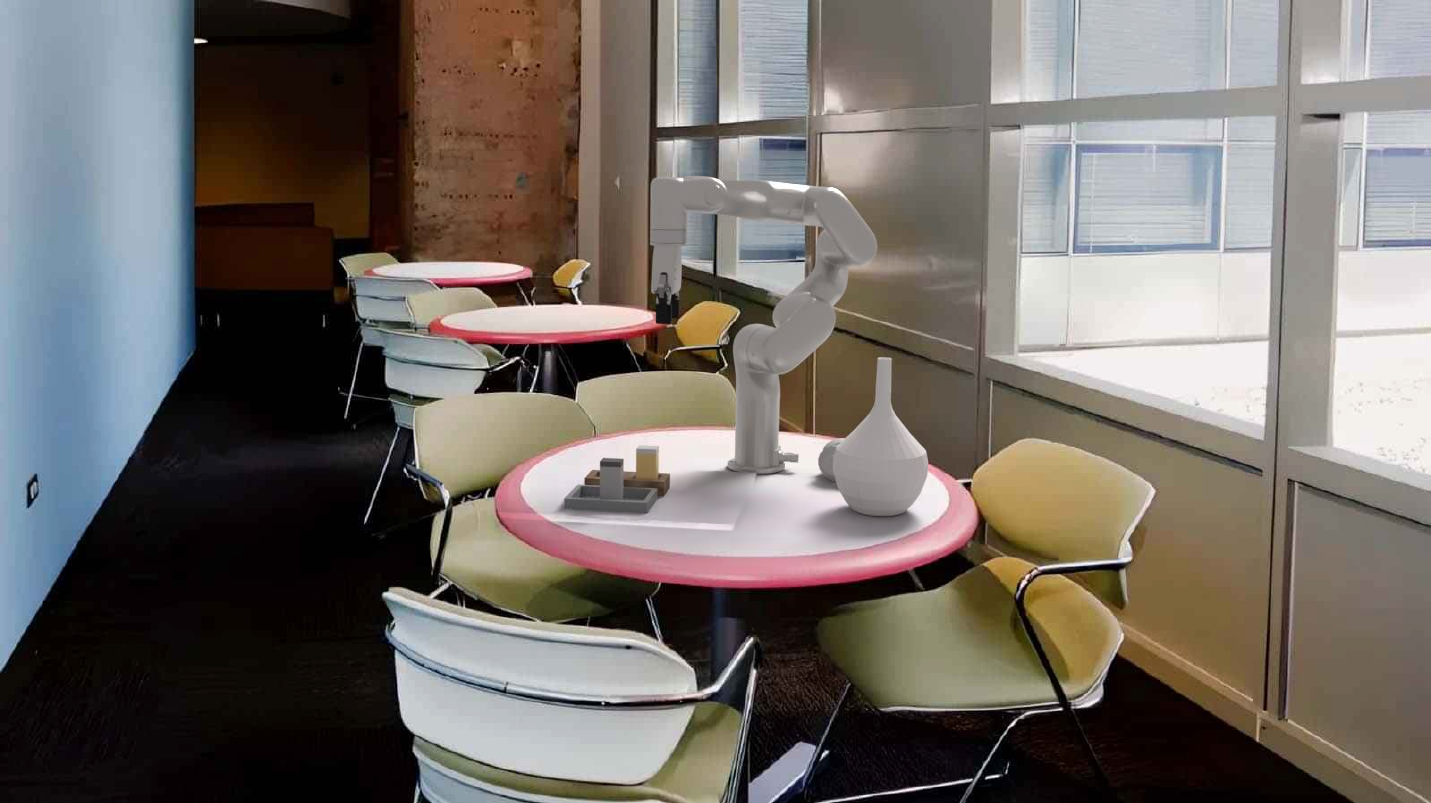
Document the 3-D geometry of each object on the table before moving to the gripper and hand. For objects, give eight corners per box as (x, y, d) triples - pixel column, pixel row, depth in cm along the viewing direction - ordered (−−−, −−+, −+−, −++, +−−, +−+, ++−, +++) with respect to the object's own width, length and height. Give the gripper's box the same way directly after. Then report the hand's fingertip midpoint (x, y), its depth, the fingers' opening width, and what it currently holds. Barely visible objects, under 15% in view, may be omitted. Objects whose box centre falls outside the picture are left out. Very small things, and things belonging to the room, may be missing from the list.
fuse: (658, 489, 264) (658, 446, 262) (655, 493, 261) (656, 449, 259) (638, 488, 264) (639, 445, 263) (635, 492, 261) (636, 448, 260)
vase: (832, 521, 247) (838, 364, 242) (829, 496, 265) (834, 350, 260) (931, 524, 246) (938, 367, 241) (921, 499, 264) (927, 352, 259)
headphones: (811, 483, 273) (906, 502, 270) (817, 447, 272) (913, 466, 268) (822, 463, 291) (911, 481, 288) (828, 429, 290) (918, 447, 286)
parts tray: (657, 503, 258) (657, 488, 257) (647, 518, 247) (647, 502, 246) (577, 499, 260) (577, 484, 259) (564, 513, 249) (564, 498, 248)
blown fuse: (623, 503, 254) (623, 458, 253) (620, 508, 251) (620, 462, 250) (603, 503, 255) (603, 457, 253) (599, 507, 252) (599, 461, 250)
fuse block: (669, 492, 266) (669, 473, 265) (663, 501, 259) (664, 481, 258) (592, 488, 268) (592, 469, 267) (584, 497, 261) (584, 477, 260)
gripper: (657, 235, 278) (657, 315, 282) (642, 240, 262) (642, 325, 265) (692, 236, 278) (691, 316, 281) (679, 241, 261) (678, 326, 264)
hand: (667, 320), depth 273 cm, fingers open, 9 cm apart
